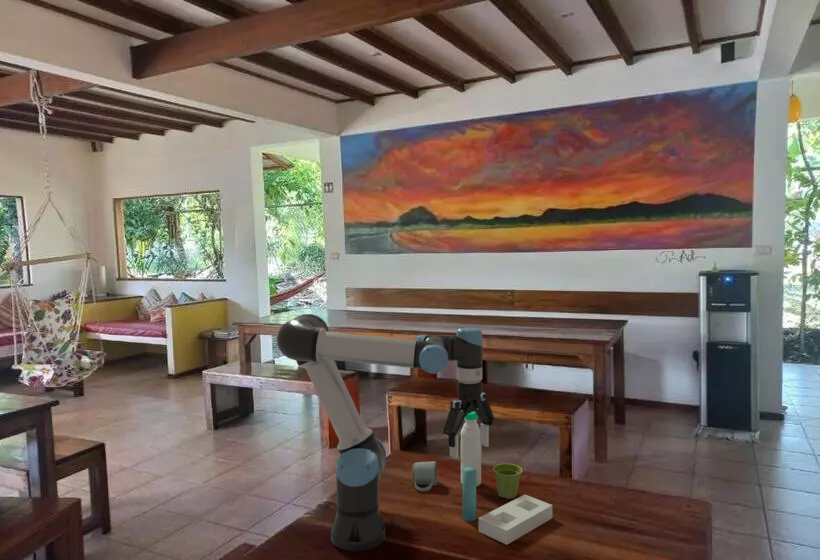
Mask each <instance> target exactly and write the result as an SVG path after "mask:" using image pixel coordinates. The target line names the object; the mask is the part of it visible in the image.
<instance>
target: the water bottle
mask: <svg viewBox="0 0 820 560" xmlns="http://www.w3.org/2000/svg"><path fill="white" fill-rule="evenodd" d="M478 419H479V417H478V415H477V414H476V412H471V413H468V415H467V416H465V418H464V420H463V421H464V423H463V426H462V428H461V430H460V436H461V438H460V484H461V485H463V468H465V467H473V468H475V469H476V488H477V487H479V486H480V485H481V484H482V464H481V463H482V445H480V425H479V424H478Z"/></svg>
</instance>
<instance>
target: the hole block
mask: <svg viewBox="0 0 820 560" xmlns="http://www.w3.org/2000/svg"><path fill="white" fill-rule="evenodd" d="M552 519H553V504H551V503H547V502H546V501H543V500H540V499H537V498H535V497H533V496H530V495H527V494H523V495H521V496H519V497H517V498H514V499H513V500H511V501H509V502H507V503H505V504H503V505H501V506H500V507H497V508H495V509H492V510H491V511H489V512H488V513H485V514H484V515H482V516H480V517H478V533H481V534H483V535H485V536H487V537H489V538H491V539H493V540H496V541H498V542H500V543H502V544H504V545H509V544H511V543H512V542H514V541H516V540H517V539H519V538H521V537H523V536H525V535H526V534H528V533H529V532H531V531H533V530H535V529H536V528H538V527H539V526H540V527H541V525H543V524H545V523H546V522H548V521H550V520H552Z"/></svg>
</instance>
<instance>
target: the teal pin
mask: <svg viewBox="0 0 820 560" xmlns="http://www.w3.org/2000/svg"><path fill="white" fill-rule="evenodd" d="M462 520H463V521H465V522H469V523H470V522H475V521H476V520H477V487H476V469H475V468H473V467H465V468H463V484H462Z"/></svg>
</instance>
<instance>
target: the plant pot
mask: <svg viewBox="0 0 820 560" xmlns="http://www.w3.org/2000/svg"><path fill="white" fill-rule="evenodd" d="M492 470H493V472H494V476H495V481H496V487H497V488H496V489H497V495H498V496H499V497H500V498H505V499H516V497H517V495H518V489H519V484H520V477H521V475H522V473H523V468H522V467H520V466H519V465H517V464H513V463H498V464H496V465H494V466H493V467H492Z"/></svg>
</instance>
